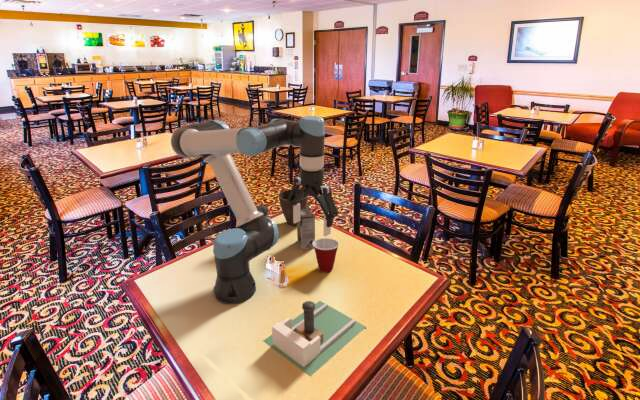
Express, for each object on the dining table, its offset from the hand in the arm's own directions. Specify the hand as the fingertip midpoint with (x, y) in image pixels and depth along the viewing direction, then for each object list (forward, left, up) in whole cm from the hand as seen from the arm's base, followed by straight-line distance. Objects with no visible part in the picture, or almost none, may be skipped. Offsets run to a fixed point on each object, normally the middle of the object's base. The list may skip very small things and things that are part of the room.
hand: (311, 228), depth 124 cm
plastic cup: (-9, +18, -28) cm, 35 cm away
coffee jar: (-46, +14, -28) cm, 56 cm away
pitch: (+14, -13, -28) cm, 34 cm away
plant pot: (-49, +39, -28) cm, 69 cm away
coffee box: (-29, +27, -28) cm, 49 cm away
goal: (+14, -21, -27) cm, 37 cm away
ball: (+14, -20, -25) cm, 35 cm away
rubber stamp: (+14, -16, -28) cm, 35 cm away
